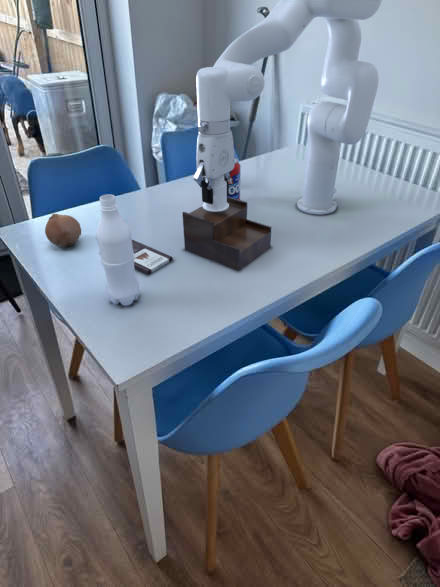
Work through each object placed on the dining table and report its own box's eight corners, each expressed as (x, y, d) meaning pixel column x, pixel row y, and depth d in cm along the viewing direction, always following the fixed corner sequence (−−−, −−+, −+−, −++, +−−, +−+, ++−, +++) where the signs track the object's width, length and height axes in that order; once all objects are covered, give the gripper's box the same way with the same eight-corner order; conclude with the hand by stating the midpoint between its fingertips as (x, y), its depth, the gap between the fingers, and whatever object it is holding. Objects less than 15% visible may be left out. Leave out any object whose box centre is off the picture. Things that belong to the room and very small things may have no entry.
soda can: (227, 198, 144) (227, 154, 136) (244, 205, 140) (245, 160, 131) (211, 205, 140) (210, 160, 131) (228, 212, 135) (228, 166, 127)
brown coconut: (58, 251, 122) (39, 219, 119) (88, 237, 124) (70, 205, 121) (54, 256, 114) (35, 222, 110) (87, 241, 115) (68, 206, 112)
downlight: (229, 213, 109) (229, 175, 103) (201, 213, 109) (200, 175, 103) (229, 200, 115) (228, 164, 109) (203, 200, 115) (201, 164, 110)
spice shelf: (218, 229, 126) (218, 193, 119) (270, 247, 117) (272, 209, 110) (184, 250, 116) (182, 212, 110) (238, 271, 107) (238, 231, 101)
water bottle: (111, 291, 101) (91, 191, 86) (141, 289, 101) (127, 189, 87) (107, 309, 95) (85, 205, 80) (139, 307, 95) (123, 203, 81)
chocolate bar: (126, 237, 120) (172, 256, 111) (127, 240, 121) (172, 260, 112) (101, 249, 115) (147, 271, 105) (101, 252, 115) (147, 274, 106)
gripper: (203, 137, 93) (206, 213, 103) (247, 121, 104) (246, 191, 114) (177, 132, 97) (182, 206, 107) (223, 116, 108) (224, 185, 118)
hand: (215, 197), depth 111 cm, fingers closed on downlight, 5 cm apart
